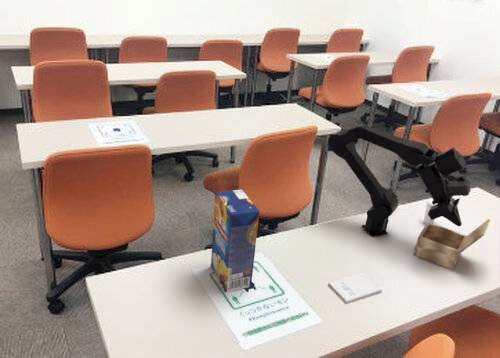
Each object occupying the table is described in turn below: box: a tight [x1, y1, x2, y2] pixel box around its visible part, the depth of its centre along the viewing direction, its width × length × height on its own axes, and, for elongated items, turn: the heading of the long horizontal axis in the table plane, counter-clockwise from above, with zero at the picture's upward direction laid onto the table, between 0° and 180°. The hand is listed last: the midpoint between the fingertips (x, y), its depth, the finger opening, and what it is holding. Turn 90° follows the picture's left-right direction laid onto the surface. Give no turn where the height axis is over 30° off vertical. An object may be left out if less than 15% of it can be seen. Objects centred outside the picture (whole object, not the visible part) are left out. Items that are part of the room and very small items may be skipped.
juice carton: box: [210, 188, 260, 293], centre depth 123 cm, size 12×8×24 cm, turn 24°
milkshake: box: [423, 199, 436, 225], centre depth 162 cm, size 4×5×10 cm
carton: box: [413, 222, 468, 271], centre depth 145 cm, size 12×12×7 cm
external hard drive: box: [327, 272, 383, 304], centre depth 128 cm, size 2×8×12 cm
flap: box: [460, 218, 491, 253], centre depth 138 cm, size 9×11×1 cm
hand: (460, 225), depth 140 cm, fingers closed
